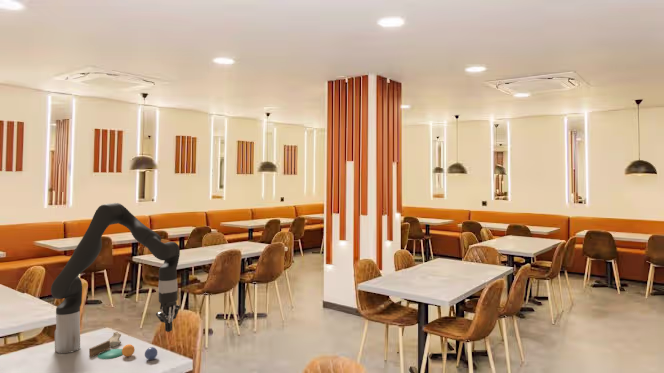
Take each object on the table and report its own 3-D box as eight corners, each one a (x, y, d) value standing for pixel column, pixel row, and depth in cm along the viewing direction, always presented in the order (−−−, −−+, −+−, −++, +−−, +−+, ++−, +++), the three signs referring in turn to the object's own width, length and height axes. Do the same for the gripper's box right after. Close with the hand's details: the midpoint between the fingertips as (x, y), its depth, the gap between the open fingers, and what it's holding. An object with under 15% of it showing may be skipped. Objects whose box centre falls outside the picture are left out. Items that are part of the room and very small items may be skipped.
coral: (108, 348, 196) (108, 339, 196) (106, 341, 204) (106, 332, 204) (122, 346, 199) (122, 336, 199) (119, 339, 207) (119, 330, 207)
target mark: (91, 357, 185) (91, 357, 185) (111, 348, 196) (111, 347, 196) (111, 360, 182) (111, 359, 182) (131, 350, 192) (131, 350, 192)
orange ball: (119, 357, 185) (119, 346, 185) (127, 353, 189) (127, 342, 189) (128, 359, 183) (128, 347, 183) (137, 354, 188) (137, 343, 188)
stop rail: (89, 356, 186) (89, 348, 186) (107, 348, 196) (107, 340, 196) (91, 356, 186) (91, 348, 186) (109, 348, 195) (109, 340, 195)
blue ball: (142, 360, 181) (142, 349, 181) (150, 356, 186) (150, 344, 186) (151, 362, 180) (151, 350, 180) (160, 357, 184) (159, 346, 184)
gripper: (170, 285, 187) (171, 325, 187) (149, 293, 175) (150, 335, 175) (185, 286, 185) (186, 326, 185) (165, 294, 173) (165, 337, 173)
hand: (168, 331), depth 180 cm, fingers closed
